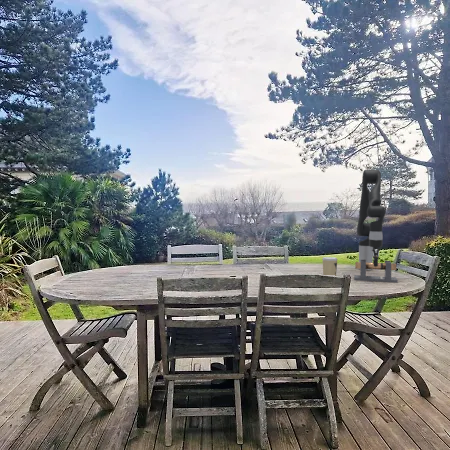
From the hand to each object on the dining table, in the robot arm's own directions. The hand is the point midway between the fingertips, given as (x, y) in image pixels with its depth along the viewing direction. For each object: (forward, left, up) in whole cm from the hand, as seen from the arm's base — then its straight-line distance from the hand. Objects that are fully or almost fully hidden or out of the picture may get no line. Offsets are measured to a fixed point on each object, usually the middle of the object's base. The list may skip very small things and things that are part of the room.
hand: (375, 265), depth 230 cm
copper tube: (0, 0, 0) cm, 0 cm away
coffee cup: (-3, -27, -9) cm, 29 cm away
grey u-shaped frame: (0, 0, -9) cm, 9 cm away
